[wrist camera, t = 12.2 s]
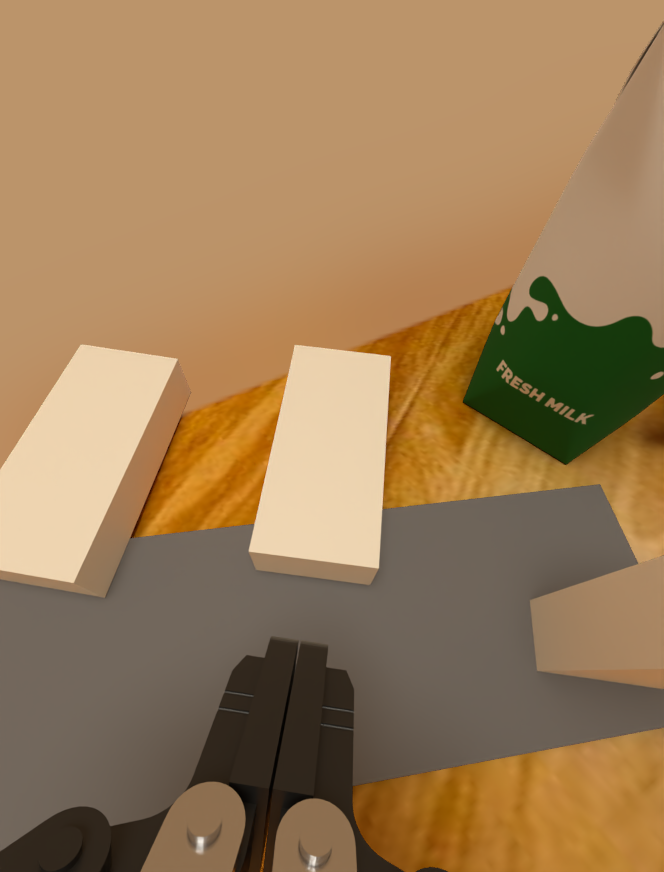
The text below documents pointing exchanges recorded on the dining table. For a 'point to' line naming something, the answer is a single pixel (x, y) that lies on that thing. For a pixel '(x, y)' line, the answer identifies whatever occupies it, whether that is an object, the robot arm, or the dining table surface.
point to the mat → (302, 620)
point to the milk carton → (589, 290)
